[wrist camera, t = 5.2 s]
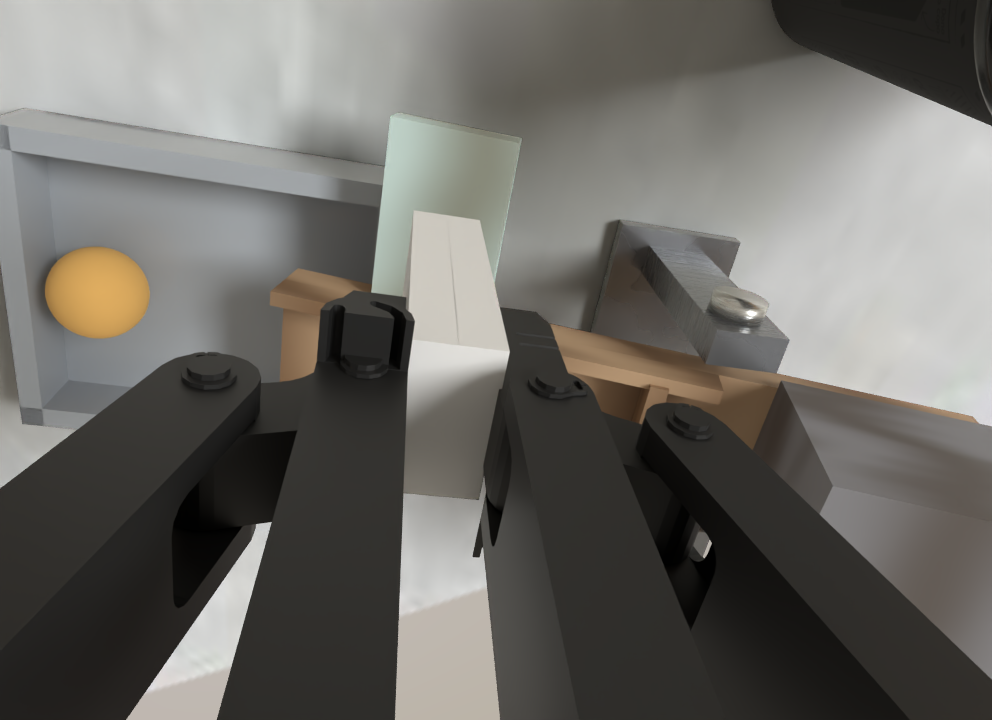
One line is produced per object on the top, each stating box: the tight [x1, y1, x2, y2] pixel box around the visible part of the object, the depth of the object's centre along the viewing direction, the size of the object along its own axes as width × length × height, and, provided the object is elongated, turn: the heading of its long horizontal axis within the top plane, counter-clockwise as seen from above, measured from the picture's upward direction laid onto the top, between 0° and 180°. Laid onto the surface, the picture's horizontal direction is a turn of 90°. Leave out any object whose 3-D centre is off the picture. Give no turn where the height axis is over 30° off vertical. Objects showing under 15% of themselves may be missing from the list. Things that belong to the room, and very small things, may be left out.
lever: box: [270, 112, 992, 679], centre depth 22 cm, size 24×11×7 cm, turn 80°
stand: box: [590, 220, 789, 557], centre depth 28 cm, size 5×10×9 cm, turn 170°
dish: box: [0, 108, 385, 429], centre depth 28 cm, size 14×12×3 cm
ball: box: [45, 247, 150, 339], centre depth 27 cm, size 3×3×3 cm
